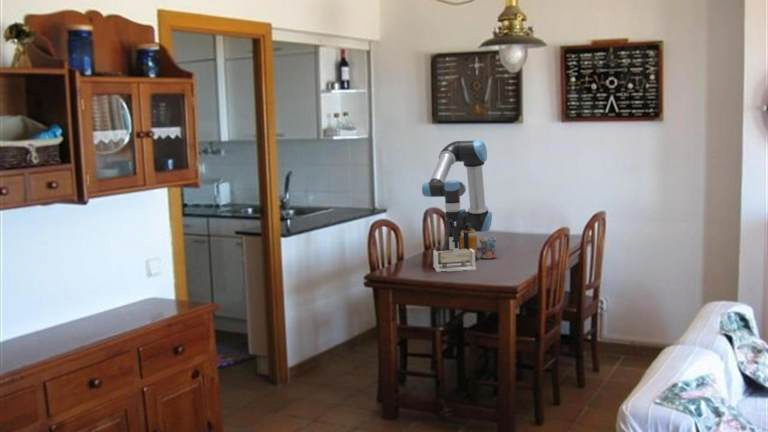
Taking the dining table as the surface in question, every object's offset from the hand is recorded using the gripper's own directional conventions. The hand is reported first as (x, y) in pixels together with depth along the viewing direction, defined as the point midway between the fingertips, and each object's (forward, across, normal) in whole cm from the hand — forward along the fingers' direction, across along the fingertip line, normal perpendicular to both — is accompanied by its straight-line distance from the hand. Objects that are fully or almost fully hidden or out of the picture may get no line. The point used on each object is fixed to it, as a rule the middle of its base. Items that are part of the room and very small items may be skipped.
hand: (454, 251), depth 408 cm
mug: (+9, -24, +23) cm, 35 cm away
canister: (+9, -20, +11) cm, 25 cm away
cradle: (+8, 0, 0) cm, 9 cm away
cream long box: (+4, 0, 0) cm, 5 cm away
